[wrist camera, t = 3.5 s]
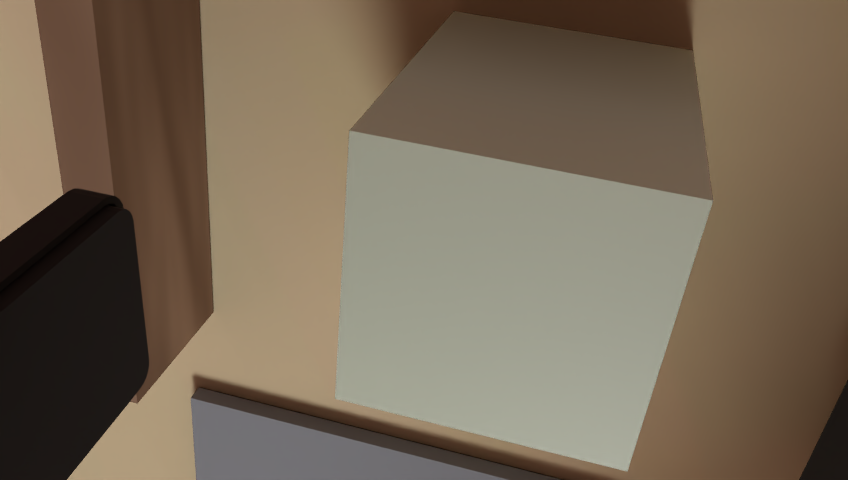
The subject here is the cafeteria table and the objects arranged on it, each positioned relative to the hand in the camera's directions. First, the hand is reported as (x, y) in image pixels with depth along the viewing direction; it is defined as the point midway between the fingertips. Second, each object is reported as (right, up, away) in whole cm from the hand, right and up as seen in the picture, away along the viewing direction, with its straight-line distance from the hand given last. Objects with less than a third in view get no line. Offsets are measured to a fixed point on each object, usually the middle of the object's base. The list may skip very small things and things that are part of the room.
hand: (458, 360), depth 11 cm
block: (+2, +4, +8) cm, 9 cm away
